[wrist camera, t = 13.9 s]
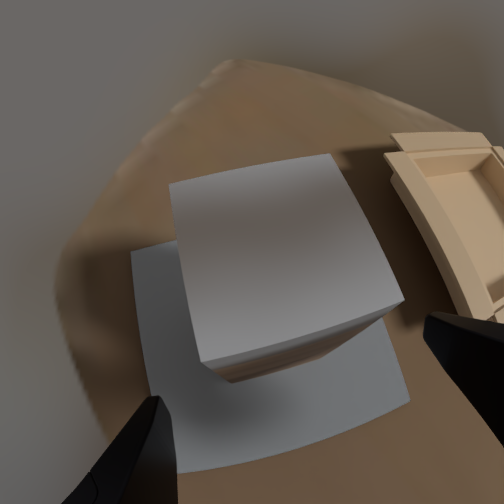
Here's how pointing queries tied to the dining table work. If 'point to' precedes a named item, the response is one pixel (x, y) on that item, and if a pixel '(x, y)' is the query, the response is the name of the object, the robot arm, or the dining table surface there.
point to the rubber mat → (252, 380)
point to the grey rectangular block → (277, 265)
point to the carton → (457, 212)
